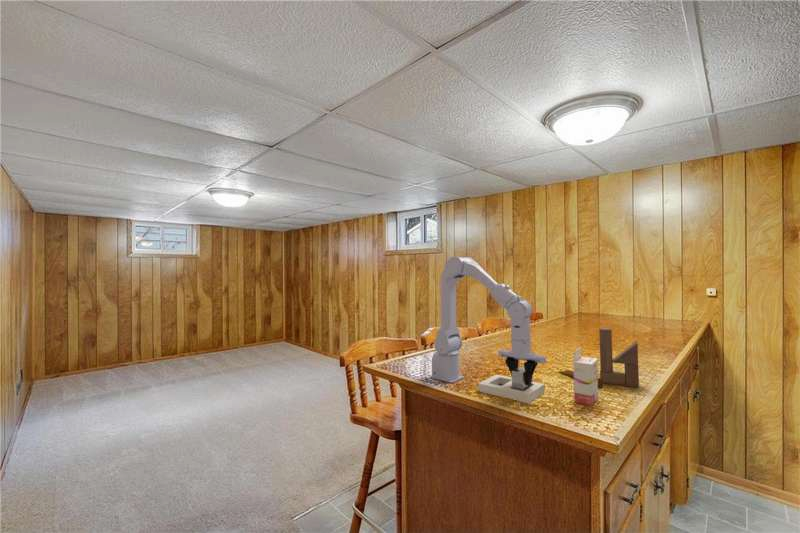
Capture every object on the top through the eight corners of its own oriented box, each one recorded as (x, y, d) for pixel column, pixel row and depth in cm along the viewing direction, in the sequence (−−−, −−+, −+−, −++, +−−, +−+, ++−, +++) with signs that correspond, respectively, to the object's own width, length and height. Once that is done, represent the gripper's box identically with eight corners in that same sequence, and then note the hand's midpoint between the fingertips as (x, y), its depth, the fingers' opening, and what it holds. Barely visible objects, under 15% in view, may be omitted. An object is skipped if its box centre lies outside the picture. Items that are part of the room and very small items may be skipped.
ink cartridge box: (593, 406, 98) (591, 353, 98) (573, 402, 101) (572, 351, 101) (599, 397, 104) (597, 348, 104) (580, 394, 107) (579, 346, 108)
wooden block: (639, 387, 112) (637, 331, 112) (600, 383, 117) (598, 329, 117) (637, 384, 115) (636, 329, 115) (600, 380, 120) (598, 327, 120)
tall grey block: (512, 390, 107) (511, 370, 107) (521, 384, 112) (521, 366, 113) (523, 392, 105) (522, 372, 105) (532, 387, 110) (532, 367, 110)
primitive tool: (556, 373, 130) (556, 363, 130) (569, 372, 132) (569, 362, 132) (594, 390, 112) (594, 379, 112) (609, 389, 113) (609, 378, 113)
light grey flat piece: (478, 391, 112) (478, 383, 112) (496, 381, 121) (496, 374, 121) (528, 403, 101) (528, 394, 101) (544, 392, 110) (544, 384, 110)
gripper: (549, 339, 107) (550, 384, 107) (504, 334, 117) (505, 375, 116) (540, 343, 102) (541, 390, 101) (494, 338, 111) (495, 381, 111)
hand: (522, 383), depth 109 cm, fingers closed on tall grey block, 3 cm apart
